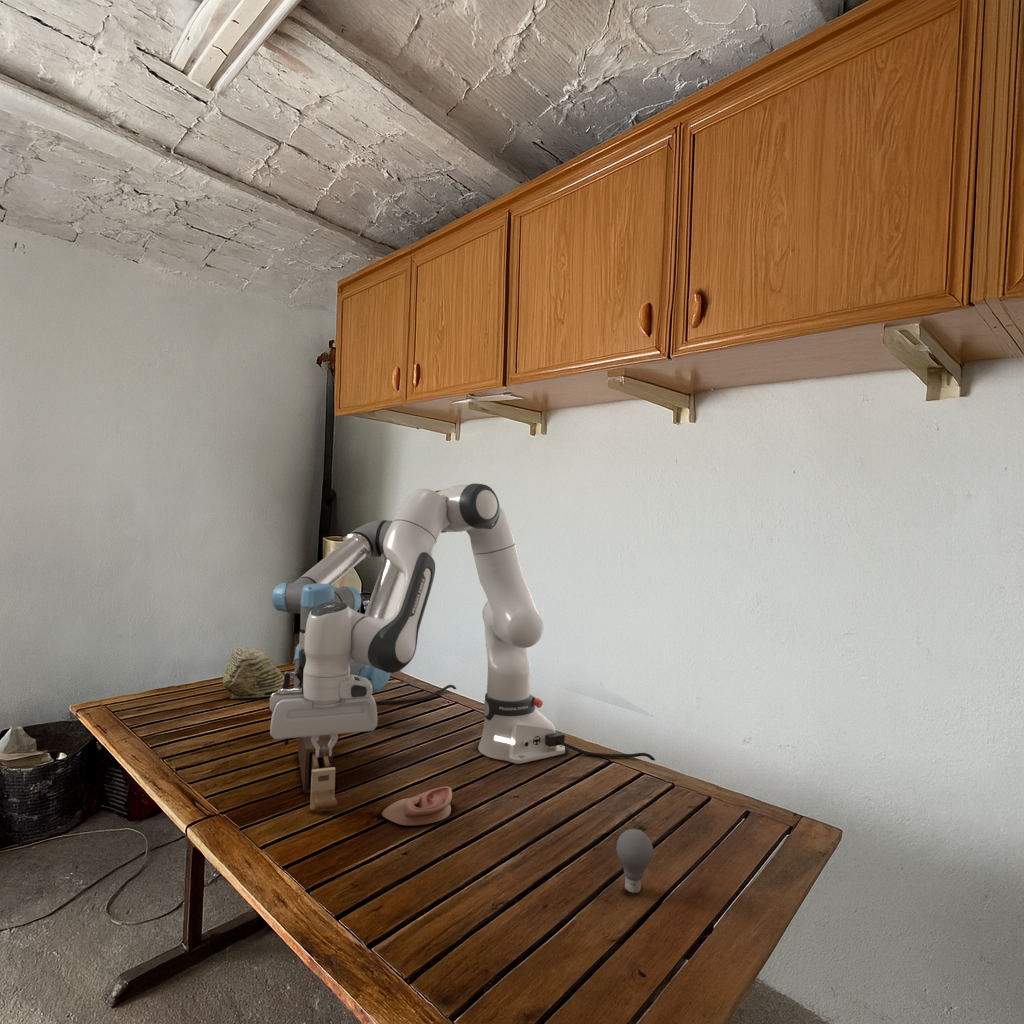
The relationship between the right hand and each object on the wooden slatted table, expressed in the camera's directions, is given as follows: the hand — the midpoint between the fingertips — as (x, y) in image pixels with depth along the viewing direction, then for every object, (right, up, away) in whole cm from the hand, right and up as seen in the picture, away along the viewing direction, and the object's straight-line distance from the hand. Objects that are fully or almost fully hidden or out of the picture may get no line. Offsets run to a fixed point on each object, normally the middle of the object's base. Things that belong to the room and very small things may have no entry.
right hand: (323, 755), depth 125 cm
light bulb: (+57, -15, -19) cm, 62 cm away
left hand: (-11, -7, +27) cm, 30 cm away
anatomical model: (+18, -13, +4) cm, 23 cm away
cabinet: (-9, -12, +21) cm, 26 cm away
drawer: (-4, -11, +9) cm, 15 cm away
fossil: (-43, -9, +73) cm, 86 cm away
